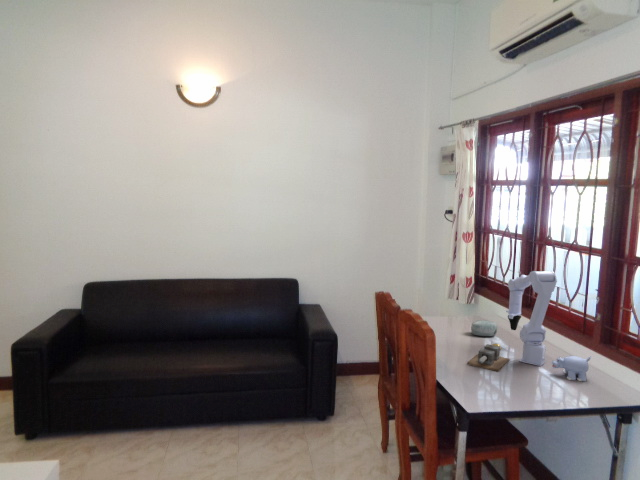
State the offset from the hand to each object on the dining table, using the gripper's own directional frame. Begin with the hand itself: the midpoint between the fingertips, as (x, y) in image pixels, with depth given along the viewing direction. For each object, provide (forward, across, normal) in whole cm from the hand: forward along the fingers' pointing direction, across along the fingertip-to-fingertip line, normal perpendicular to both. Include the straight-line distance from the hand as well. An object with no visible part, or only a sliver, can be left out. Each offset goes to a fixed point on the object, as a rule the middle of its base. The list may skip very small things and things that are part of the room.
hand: (513, 329), depth 249 cm
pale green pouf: (+10, -11, -18) cm, 23 cm away
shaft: (+8, +28, -3) cm, 29 cm away
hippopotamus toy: (+10, +21, +30) cm, 38 cm away
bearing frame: (+9, +28, -3) cm, 30 cm away
